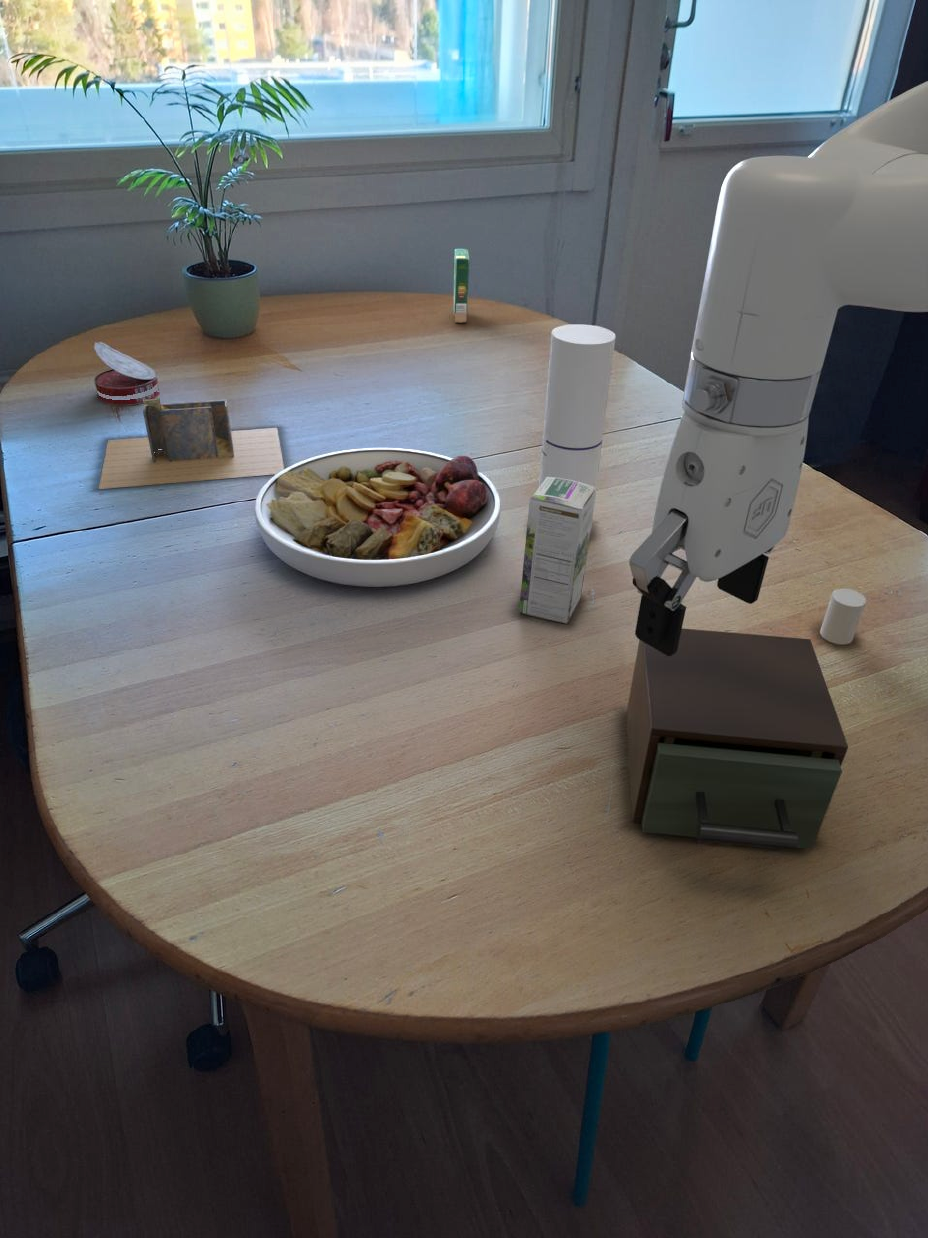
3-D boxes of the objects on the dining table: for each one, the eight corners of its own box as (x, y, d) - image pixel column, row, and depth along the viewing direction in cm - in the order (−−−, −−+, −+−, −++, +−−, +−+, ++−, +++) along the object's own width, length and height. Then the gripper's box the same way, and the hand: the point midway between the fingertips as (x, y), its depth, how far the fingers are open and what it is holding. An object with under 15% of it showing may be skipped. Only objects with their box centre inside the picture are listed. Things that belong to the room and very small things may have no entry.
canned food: (126, 410, 152) (131, 351, 151) (170, 415, 148) (176, 354, 147) (72, 399, 142) (77, 336, 141) (118, 404, 138) (123, 339, 136)
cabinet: (812, 841, 71) (848, 746, 65) (632, 822, 72) (651, 728, 66) (781, 728, 82) (810, 638, 76) (626, 714, 83) (641, 624, 77)
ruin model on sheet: (98, 489, 118) (81, 421, 113) (108, 440, 131) (93, 376, 125) (285, 473, 123) (278, 407, 118) (277, 427, 136) (270, 366, 131)
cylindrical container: (560, 548, 108) (581, 348, 94) (524, 524, 113) (538, 330, 99) (602, 532, 112) (628, 337, 97) (565, 509, 117) (585, 320, 102)
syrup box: (533, 587, 101) (543, 473, 93) (583, 599, 99) (597, 484, 91) (518, 613, 97) (526, 496, 88) (569, 626, 95) (583, 508, 87)
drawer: (824, 896, 66) (858, 817, 61) (645, 877, 67) (663, 797, 62) (783, 741, 80) (807, 666, 75) (635, 727, 81) (649, 652, 76)
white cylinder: (848, 627, 96) (861, 589, 93) (856, 646, 93) (870, 607, 90) (816, 625, 96) (829, 587, 93) (823, 643, 94) (836, 605, 91)
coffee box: (467, 323, 182) (469, 257, 174) (454, 323, 182) (455, 257, 174) (466, 312, 188) (468, 248, 181) (453, 312, 188) (454, 247, 181)
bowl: (325, 630, 93) (319, 568, 89) (222, 513, 113) (214, 458, 109) (546, 554, 107) (552, 497, 103) (420, 462, 127) (420, 411, 123)
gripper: (717, 446, 46) (665, 696, 56) (876, 375, 55) (807, 598, 65) (608, 403, 50) (577, 641, 60) (772, 344, 60) (722, 558, 70)
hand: (697, 619), depth 63 cm, fingers open, 9 cm apart
